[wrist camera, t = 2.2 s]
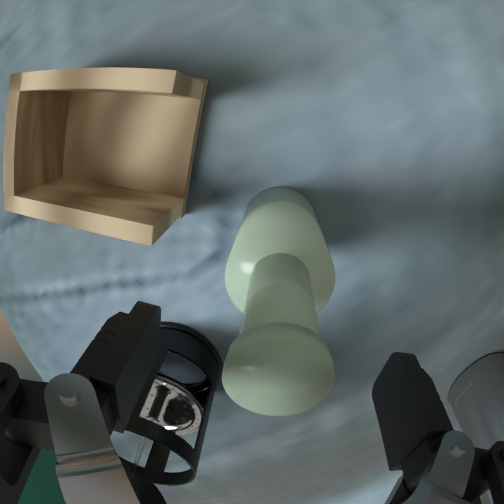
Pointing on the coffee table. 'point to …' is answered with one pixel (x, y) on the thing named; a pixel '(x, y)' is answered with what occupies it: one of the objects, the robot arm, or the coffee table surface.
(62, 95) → the u rest
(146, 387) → the french press
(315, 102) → the coffee table surface
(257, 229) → the pale green pin
